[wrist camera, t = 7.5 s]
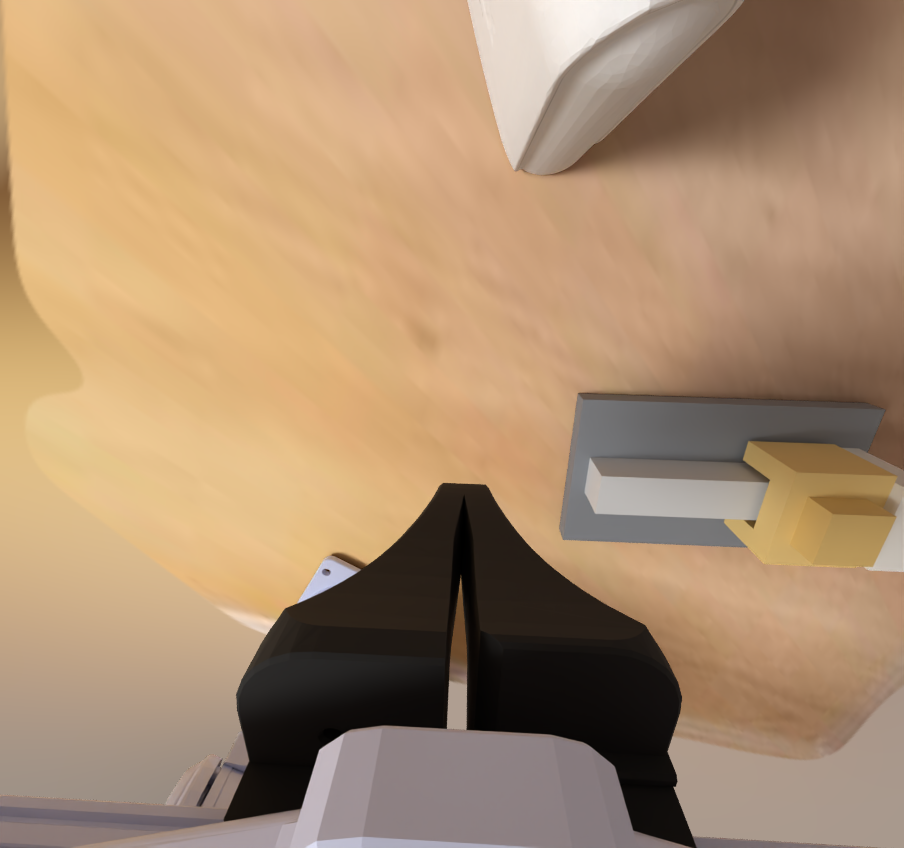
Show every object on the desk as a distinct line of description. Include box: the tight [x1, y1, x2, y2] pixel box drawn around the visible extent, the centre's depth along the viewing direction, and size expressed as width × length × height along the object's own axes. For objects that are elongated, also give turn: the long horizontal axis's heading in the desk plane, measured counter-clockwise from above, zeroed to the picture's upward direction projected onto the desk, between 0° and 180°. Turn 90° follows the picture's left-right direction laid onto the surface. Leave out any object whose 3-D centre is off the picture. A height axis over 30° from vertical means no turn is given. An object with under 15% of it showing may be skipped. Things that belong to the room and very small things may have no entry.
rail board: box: [559, 393, 904, 572], centre depth 20 cm, size 14×8×5 cm, turn 89°
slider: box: [724, 441, 898, 568], centre depth 19 cm, size 4×5×4 cm
